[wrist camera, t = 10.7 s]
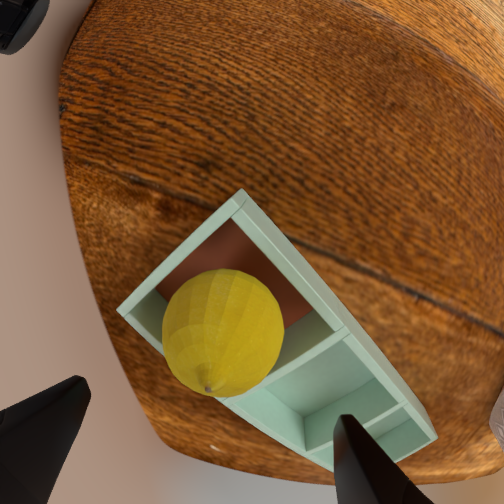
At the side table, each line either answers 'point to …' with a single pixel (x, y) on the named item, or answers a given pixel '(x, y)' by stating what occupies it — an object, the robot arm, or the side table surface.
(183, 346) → the fruit
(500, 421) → the planter
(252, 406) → the compartment tray
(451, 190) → the side table surface
